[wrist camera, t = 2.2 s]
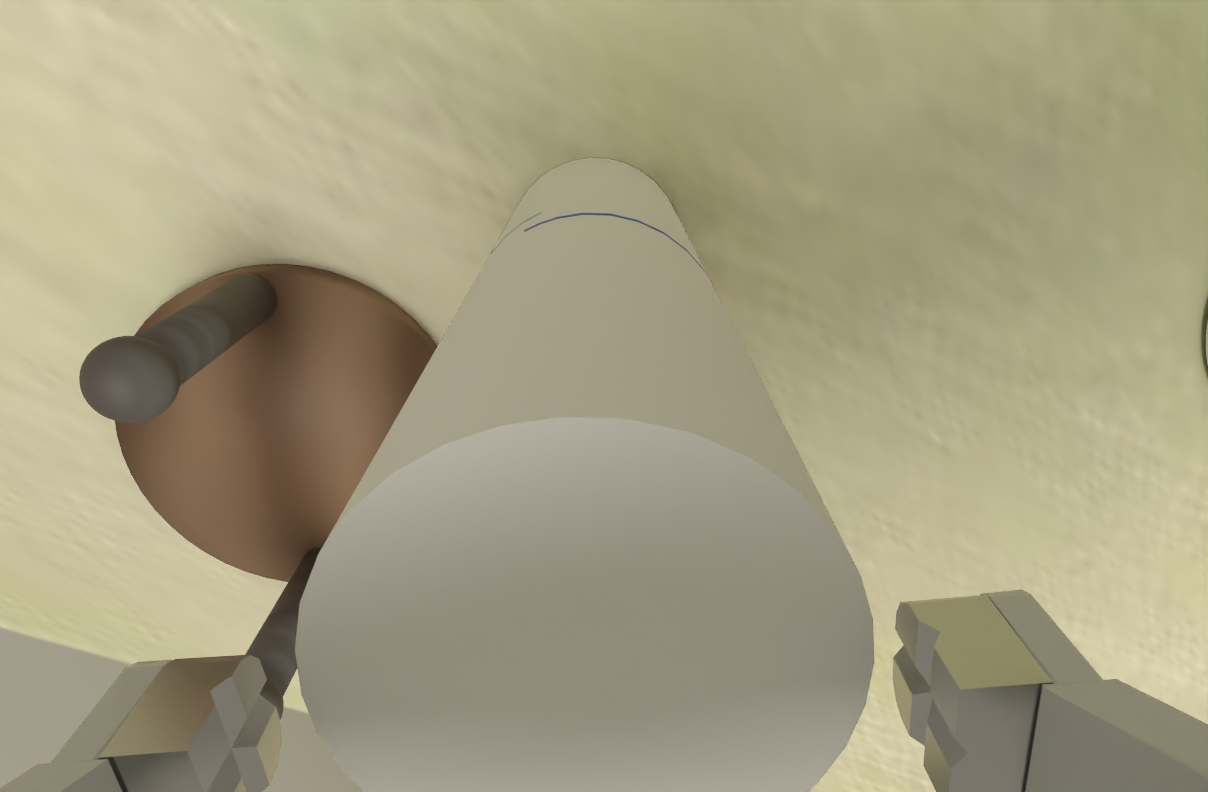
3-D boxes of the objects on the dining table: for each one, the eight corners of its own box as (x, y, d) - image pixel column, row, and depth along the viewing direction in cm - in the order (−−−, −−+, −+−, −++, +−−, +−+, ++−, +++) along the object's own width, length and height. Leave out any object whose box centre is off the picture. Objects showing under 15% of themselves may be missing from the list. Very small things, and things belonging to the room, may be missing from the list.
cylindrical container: (696, 306, 34) (904, 824, 11) (536, 346, 35) (411, 912, 12) (660, 137, 31) (831, 347, 8) (486, 183, 32) (193, 499, 9)
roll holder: (437, 241, 33) (356, 330, 22) (490, 557, 39) (448, 751, 28) (82, 273, 33) (-169, 375, 22) (190, 581, 39) (33, 779, 28)
